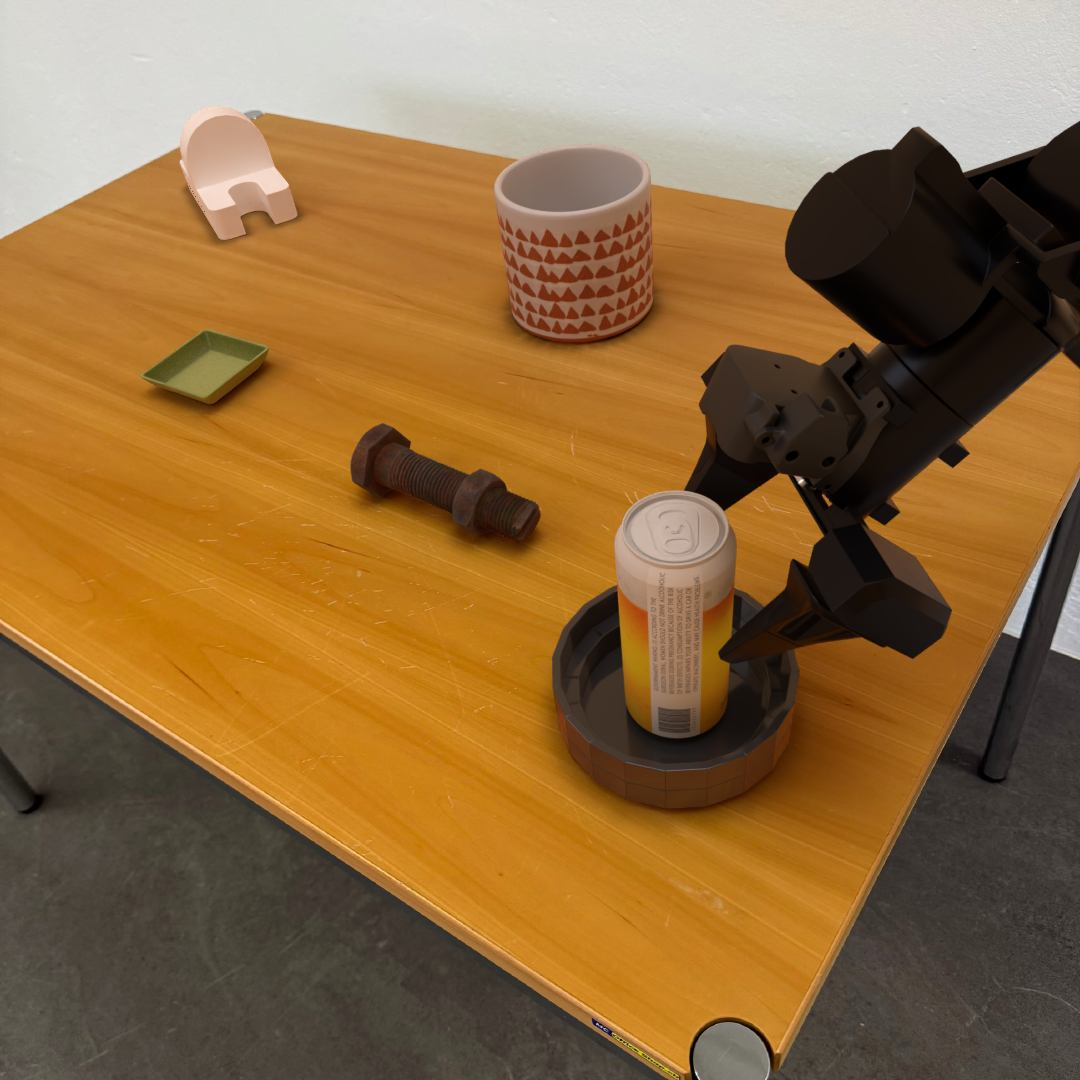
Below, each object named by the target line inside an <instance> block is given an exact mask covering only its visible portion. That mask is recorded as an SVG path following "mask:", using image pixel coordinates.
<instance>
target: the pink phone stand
mask: <svg viewBox="0 0 1080 1080" xmlns="http://www.w3.org/2000/svg"><path fill="white" fill-rule="evenodd" d="M179 151H180V156H181V159H180V160H179V166H180V168H181V171H182V173H183V176H184V179H185V181H186V183H188V184H187V187H188V189H189V192H190V193H191V195H192V196H193V199H194V200H195V202H196V203H197V205H198V206H199V208H200V210H201V211H202V213H203V215H204V216H205V218H206V219H207V222H208V223H209V224H210V226H211V228H212V229H213V231H214V233H215V234H216V236H217V238H218V239H220V240H222V241H226V240H227V241H228V240H231V239H235V238H238V237H241V236H244V235H247V232H246V229H245V226H244V223H243V221H242V218H241V217H242V216H244V215H246V214H249V213H253V212H265V213H267V214H268V216H269V217H270V219H271V220H272V222H273V223H274V224H275V225H279V224H282V223H285V222H288V221H291V220H294V219H296V218H297V217H298V214H299V213H298V210H297V207H296V204H295V201H294V198H293V194H292V191H291V186H290V185H289V183H288V181H287V180H286V179H285V178H284V176H283V175H282V174H281V173H280V172H279V170H278V169H277V168H276V166H275V163H274V160H273V157H272V154H271V151H270V148H269V145H268V143H267V141H266V139H265V136H264V135H263V134H262V133H261V131H260V130H259V128H258V127H257V126H256V125H255V124H254V123H253V122H252V120H251V119H250V118H249V117H248V116H246V115H245V114H244V113H242V112H241V111H239V110H237V109H234V108H233V107H229V106H223V105H215V106H208V107H205V108H203V109H200V110H199V111H197V112H195V113H194V114H193V115H192V116H191V117H189V118H188V120H187V122H186V123H185V125H184V126H183V128H182V130H181V134H180V137H179ZM189 186H190V187H189ZM190 188H191V189H190ZM192 191H193V192H192ZM193 193H194V194H193ZM195 196H196V197H195ZM198 201H199V202H198ZM249 203H251V204H249ZM262 203H263V204H262ZM201 206H202V207H201ZM204 211H205V212H204Z"/></svg>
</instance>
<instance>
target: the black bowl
mask: <svg viewBox="0 0 1080 1080" xmlns="http://www.w3.org/2000/svg"><path fill="white" fill-rule="evenodd" d="M764 607H765V605H763V604H762V603H760V602H759V601H758V600H756V599H755V598H754V597H753V596H751V595H750V594H749V593H747V592H746V591H744V590H741V589H738V588H736V587H734V600H733V617H732V634H731V637H732V636H733V634H735V633H736V632H737V631H738V630H739V629H740V628H741V627H742V626H743V625H745V624H746V623H747V622H748V621H749V620H750V619H751V618H753V617H754V616H755V615H756V614H757V613H758V612H759V611H761V610H762V609H763V608H764ZM795 650H796V649H792V650H788V651H784V652H780V653H776V654H772V655H768V656H764V657H760V658H756V659H752V660H748V661H744V662H740V663H736V664H730V667H729V684H728V700H727V706H726V709H725V712H724V714H723V715H722V717H721V719H720V720H719V721H718V722H717V723H716V724H715V725H714V726H713V727H712V728H710V729H709V730H707V731H705V732H703V733H701V734H699V735H696V736H692V737H687V738H668V737H663V736H659V735H656V734H654V733H652V732H650V731H648V730H646V729H645V728H643V727H642V726H640V725H639V724H638V723H637V722H636V721H635V720H634V718H633V717H632V716H631V714H630V712H629V711H628V708H627V705H626V701H625V689H624V674H623V660H622V646H621V632H620V618H619V603H618V589H617V584H616V585H613V586H611V587H609V588H607V589H606V590H604V591H602V592H601V593H599V594H598V595H596V596H595V597H593V598H591V599H589V600H588V601H586V602H585V603H584V604H582V606H580V608H579V609H578V610H577V612H576V613H575V614H574V615H573V616H572V617H571V619H570V620H569V621H568V622H567V623H566V624H565V626H563V628H562V630H561V632H560V635H559V637H558V641H557V643H556V646H555V648H554V651H553V653H552V656H551V673H552V674H551V677H552V679H551V681H552V682H551V684H552V686H551V687H552V692H553V699H554V704H555V711H556V718H557V725H558V727H559V730H560V732H561V735H562V737H563V740H564V742H565V745H566V747H567V750H568V752H569V754H570V755H571V757H572V758H573V759H574V760H575V762H577V764H578V765H579V766H581V768H582V769H583V770H584V771H585V773H587V775H589V776H590V777H591V779H592V780H594V782H596V783H598V784H600V785H601V786H603V787H604V788H606V789H608V790H610V791H611V792H613V793H615V794H617V795H619V796H620V797H622V798H624V799H625V800H628V801H632V802H636V803H641V804H645V805H649V806H653V807H658V808H662V809H670V810H671V809H682V808H683V809H684V808H685V809H686V808H705V807H708V806H711V805H714V804H717V803H719V802H723V801H725V800H728V799H731V798H733V797H736V796H739V795H742V794H743V793H744V794H745V792H747V791H748V790H749V789H750V788H752V787H754V785H755V784H757V783H758V782H759V781H760V780H762V779H763V778H764V777H766V776H768V774H769V773H770V772H771V771H773V769H774V767H776V764H777V763H778V761H779V759H780V757H782V754H783V753H784V751H785V750H786V748H787V746H788V745H789V743H790V739H791V733H792V726H793V720H794V714H795V707H796V701H797V694H798V687H799V680H800V667H799V663H798V659H797V655H796V651H795Z"/></svg>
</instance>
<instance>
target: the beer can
mask: <svg viewBox="0 0 1080 1080" xmlns="http://www.w3.org/2000/svg"><path fill="white" fill-rule="evenodd" d="M613 544H614V546H613V547H614V559H615V573H616V574H615V575H616V585H617V589H618V603H619V618H620V632H621V646H622V660H623V674H624V689H625V701H626V705H627V708H628V711H629V712H630V714H631V716H632V717H633V718H634V720H635V721H636V722H637V723H638V724H639V725H640V726H642V727H643V728H645V729H646V730H648V731H650V732H652V733H654V734H656V735H659V736H663V737H668V738H687V737H692V736H696V735H699V734H701V733H703V732H705V731H707V730H709V729H710V728H712V727H713V726H714V725H715V724H716V723H717V722H718V721H719V720H720V719H721V717H722V715H723V714H724V712H725V709H726V706H727V700H728V684H729V667H730V663H727V662H725V661H723V660H721V659H720V658H719V655H718V651H719V650H720V649H721V648H722V647H723V646H724V644H725V643H726V642H727V641H728V640H729V639H730V638H731V634H732V617H733V600H734V588H735V582H736V581H735V580H736V568H737V567H736V566H737V565H736V564H737V547H738V542H737V537H736V533H735V530H734V529H733V526H732V525H731V523H730V522H729V519H728V516H727V514H726V513H725V511H723V510H722V508H721V507H720V506H719V505H718V504H716V503H715V502H714V501H712V500H711V499H709V498H707V497H705V496H703V495H700V494H697V493H693V492H688V491H684V490H675V489H674V490H664V491H659V492H654V493H652V494H649V495H646V496H644V497H642V498H641V499H639V500H637V501H636V502H635V503H634V504H632V505H631V506H630V507H629V508H628V509H627V511H626V513H625V514H624V516H623V519H622V522H621V523H620V526H619V528H618V529H617V531H616V534H615V537H614V543H613Z"/></svg>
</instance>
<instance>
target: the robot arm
mask: <svg viewBox="0 0 1080 1080" xmlns="http://www.w3.org/2000/svg"><path fill="white" fill-rule="evenodd" d="M784 258H785V261H786V264H787V267H788V268H789V270H790V271H791V273H792V274H793V275H794V276H796V278H799V279H800V280H801V281H802V282H804V283H805V284H806V285H807V286H808V287H810V288H811V289H812V290H814V292H816V293H817V294H818V295H820V296H821V297H822V298H823V299H824V300H825V301H827V302H829V303H830V304H831V305H832V306H834V307H835V308H836V309H837V310H839V311H840V312H841V314H842V313H843V314H844V315H845V316H846V317H847V318H848V319H850V320H851V321H852V322H854V323H855V324H856V325H857V326H859V328H861V329H862V330H864V331H865V332H866V333H868V334H869V335H870V336H871V337H872V338H874V339H876V340H877V341H879V343H878V344H877V345H876V346H875V347H873V348H872V349H871V351H869V352H867V351H866V350H864V349H863V348H862V347H861V346H860V345H858V344H856V343H855V342H854V341H853V342H852V343H851V344H849V346H848V347H847V346H843V347H841V348H839V349H838V350H837V351H836V352H835V353H834V354H833V355H832V356H831V357H830V358H829V359H827V360H826V361H824V362H822V363H821V364H818V363H814V362H809V361H807V360H805V359H804V358H802V357H799V356H795V355H791V354H787V353H781V352H777V351H772V350H767V349H762V348H757V347H752V346H746V345H743V344H729V345H728V346H727V347H726V349H725V350H724V351H723V352H722V353H721V354H720V355H719V356H718V357H717V358H716V360H714V362H713V363H712V364H711V365H710V366H708V368H707V369H706V370H705V371H704V372H703V373H702V374H701V376H700V379H701V380H702V382H703V384H704V386H705V389H704V392H703V394H702V396H701V398H700V400H699V402H698V407H699V410H700V413H701V414H702V415H704V420H705V431H706V439H705V442H704V446H703V448H702V450H701V453H700V456H699V458H698V459H697V462H696V465H695V466H694V469H693V471H692V473H691V475H690V477H689V479H688V481H687V483H686V485H685V486H684V489H683V491H688V492H693V493H697V494H700V495H703V496H705V497H707V498H709V499H711V500H712V501H714V502H715V503H716V504H718V505H719V506H720V507H721V508H722V510H723V511H724V512H725V511H727V510H729V509H730V508H731V507H732V506H734V505H736V504H737V503H738V502H740V501H742V500H743V499H744V498H745V497H747V496H749V495H750V494H751V493H753V492H754V491H756V490H758V489H759V488H760V487H762V486H763V485H765V484H766V483H768V482H769V481H771V480H772V479H774V478H775V477H776V476H777V475H779V474H780V475H787V476H788V478H789V480H790V482H791V483H792V485H793V487H794V488H795V490H796V491H797V493H798V496H800V498H801V500H802V501H803V503H804V505H805V507H806V508H807V510H808V512H809V513H810V516H811V517H812V518H813V520H814V522H815V523H816V525H817V527H818V528H819V530H820V532H821V534H822V535H823V537H821V538H820V539H819V540H818V541H817V542H815V543H814V544H813V546H812V549H811V555H810V558H809V561H808V565H807V564H805V563H802V562H801V561H799V560H797V559H795V558H792V559H791V560H790V562H789V567H788V574H787V579H786V584H785V587H784V588H783V590H782V591H781V592H780V593H778V594H777V595H776V596H775V597H773V599H772V600H770V602H769V603H767V604H765V605H764V608H763V609H762V610H761V611H759V612H758V613H757V614H756V615H755V616H754V617H753V618H751V619H750V620H749V621H748V622H747V623H746V624H745V625H743V626H742V627H741V628H740V629H739V630H738V631H737V632H736V633H735V634H733V636H732V637H731V638H730V639H729V640H728V641H727V642H726V643H725V644H724V646H723V647H722V648H721V649H720V650H719V651H718V655H719V658H720V659H721V660H723V661H725V662H727V663H730V664H736V663H740V662H744V661H748V660H752V659H756V658H760V657H764V656H768V655H772V654H776V653H780V652H784V651H788V650H792V649H794V650H797V649H800V648H805V647H809V646H813V645H818V644H825V643H832V642H838V641H846V640H854V639H860V638H862V639H864V640H866V641H868V642H870V643H871V644H874V645H876V646H878V647H880V648H883V649H885V648H887V647H888V648H890V649H892V650H893V651H895V652H897V653H899V654H901V655H903V656H905V657H908V658H910V659H911V660H914V659H915V658H917V657H918V656H919V655H921V654H922V653H923V652H925V651H926V650H928V649H929V648H930V647H932V646H933V645H934V644H935V643H937V642H938V641H939V640H941V639H942V638H943V636H944V634H945V632H946V630H947V629H948V625H949V622H950V618H951V616H952V612H953V609H952V607H951V606H950V604H949V603H948V601H947V600H946V599H945V597H944V595H943V594H942V593H941V591H940V590H939V588H938V587H937V585H936V583H934V581H933V579H932V578H931V576H930V575H929V574H928V572H927V571H926V569H925V567H923V565H922V563H921V562H920V561H919V559H918V558H917V556H915V555H914V554H912V553H910V552H909V551H907V550H905V549H904V548H902V547H900V546H899V545H897V544H896V543H894V542H892V541H891V540H889V539H888V538H885V537H884V536H882V535H881V534H880V533H878V532H876V531H874V530H872V529H871V528H870V527H869V525H868V524H867V523H866V519H867V518H871V519H873V520H874V521H876V522H877V523H879V524H881V525H882V526H884V527H885V526H887V524H889V523H890V522H891V521H892V520H893V519H895V518H896V517H897V516H898V515H899V514H901V511H900V509H899V507H898V505H896V503H895V502H894V500H893V499H892V498H893V497H894V496H895V495H896V494H898V493H899V492H900V491H901V490H902V489H903V488H904V487H906V485H908V484H909V483H910V482H911V481H912V480H914V479H915V478H916V477H917V476H918V475H920V474H921V473H922V472H923V471H924V470H925V469H926V468H928V467H929V466H930V465H931V464H932V463H933V462H935V461H936V460H937V459H939V460H940V461H942V462H943V463H945V464H946V465H947V466H948V467H950V468H951V469H954V468H955V467H956V466H957V465H959V464H960V463H961V462H962V461H963V460H964V459H966V458H967V457H968V456H969V455H970V454H971V453H970V451H969V450H968V449H967V448H966V446H965V445H964V444H963V443H962V442H961V441H960V439H962V438H963V437H964V436H965V435H966V434H968V433H969V432H970V431H971V430H972V429H973V428H975V426H977V424H979V423H980V422H981V421H982V420H984V418H986V417H987V416H988V415H989V414H991V412H993V411H994V410H995V409H996V408H998V406H1000V405H1001V404H1002V403H1003V402H1004V401H1006V400H1007V399H1008V398H1009V397H1010V396H1011V395H1013V394H1014V393H1015V392H1016V391H1017V390H1019V388H1021V387H1022V386H1023V385H1024V384H1026V383H1027V382H1028V381H1029V380H1030V379H1031V378H1033V376H1035V375H1036V374H1037V373H1038V372H1039V371H1041V370H1042V369H1043V368H1044V367H1045V366H1047V364H1049V363H1050V362H1051V361H1052V360H1054V359H1055V358H1056V357H1057V356H1058V355H1059V354H1060V353H1061V354H1062V355H1063V356H1064V357H1065V358H1067V360H1069V361H1070V362H1071V363H1072V364H1073V365H1074V366H1075V367H1076V368H1078V369H1079V370H1080V120H1079V121H1077V122H1076V123H1074V124H1072V125H1070V126H1069V127H1067V128H1065V129H1064V130H1063V131H1061V132H1060V133H1058V134H1057V135H1055V136H1054V137H1053V138H1052V139H1051V140H1049V142H1048V143H1046V144H1044V145H1042V146H1039V147H1036V148H1033V149H1029V150H1027V151H1024V152H1021V153H1018V154H1015V155H1012V156H1009V157H1006V158H1003V159H1001V160H996V161H993V162H991V163H988V164H987V163H986V164H985V165H982V166H979V167H975V168H973V169H970V170H966V171H964V172H963V169H962V167H961V164H960V163H959V161H958V160H957V158H956V157H955V156H954V155H953V154H952V153H951V152H950V151H949V150H948V149H947V148H946V147H945V146H944V145H943V143H941V142H940V141H938V140H937V139H936V138H934V137H933V135H931V134H929V133H928V132H927V131H926V130H924V128H922V127H921V126H913V127H911V128H909V130H908V131H907V132H906V133H905V134H904V135H903V136H902V138H901V139H900V140H899V141H898V142H897V143H896V144H895V145H894V146H893V147H892V148H884V149H874V150H871V151H868V152H865V153H862V154H859V155H858V156H856V157H853V158H852V159H849V160H848V161H846V162H845V163H844V164H842V165H841V166H839V167H838V168H837V169H836V170H834V171H833V172H832V171H827V172H826V173H824V174H823V175H822V176H821V178H819V179H818V181H817V182H815V183H814V184H813V185H812V187H811V188H810V190H809V191H808V192H807V193H806V194H805V196H804V197H803V199H802V200H801V202H800V204H799V205H798V207H797V209H796V211H795V212H794V214H793V217H792V219H791V221H790V224H789V226H788V228H787V232H786V237H785V242H784ZM824 496H825V497H826V499H828V502H829V503H831V504H830V505H829V504H828V503H827V501H826V499H825V498H824Z"/></svg>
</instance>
